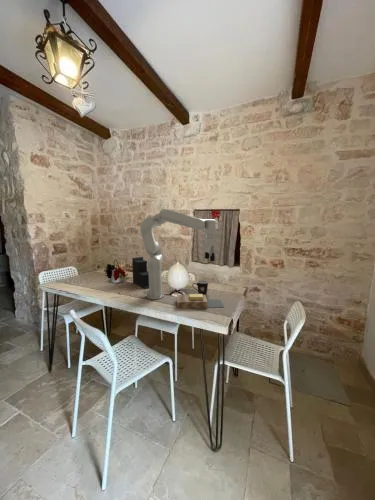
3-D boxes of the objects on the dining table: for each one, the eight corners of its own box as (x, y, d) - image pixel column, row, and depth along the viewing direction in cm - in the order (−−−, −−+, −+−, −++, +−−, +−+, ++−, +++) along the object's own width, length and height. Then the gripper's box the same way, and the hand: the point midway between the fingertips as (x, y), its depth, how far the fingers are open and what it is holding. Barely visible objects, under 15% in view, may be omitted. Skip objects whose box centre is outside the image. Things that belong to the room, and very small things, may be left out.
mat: (207, 307, 145) (207, 307, 145) (205, 299, 159) (205, 299, 159) (224, 307, 145) (224, 307, 145) (220, 299, 159) (220, 299, 159)
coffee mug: (209, 293, 172) (210, 281, 171) (204, 296, 165) (204, 284, 164) (197, 291, 178) (197, 279, 177) (191, 294, 171) (191, 281, 170)
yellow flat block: (189, 299, 148) (189, 297, 148) (189, 296, 154) (189, 293, 154) (202, 299, 148) (202, 296, 148) (202, 296, 154) (202, 293, 154)
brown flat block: (177, 307, 145) (177, 302, 144) (177, 300, 158) (177, 294, 158) (207, 307, 145) (207, 301, 144) (205, 299, 159) (205, 294, 158)
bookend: (155, 286, 190) (155, 260, 186) (144, 289, 183) (143, 261, 180) (143, 280, 208) (142, 256, 204) (132, 282, 201) (131, 257, 198)
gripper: (200, 235, 165) (200, 257, 167) (210, 237, 148) (209, 262, 151) (210, 235, 167) (209, 257, 169) (220, 237, 151) (219, 261, 153)
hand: (209, 259), depth 160 cm, fingers open, 9 cm apart
